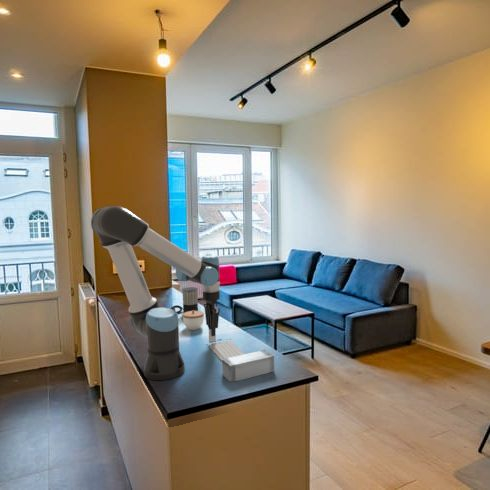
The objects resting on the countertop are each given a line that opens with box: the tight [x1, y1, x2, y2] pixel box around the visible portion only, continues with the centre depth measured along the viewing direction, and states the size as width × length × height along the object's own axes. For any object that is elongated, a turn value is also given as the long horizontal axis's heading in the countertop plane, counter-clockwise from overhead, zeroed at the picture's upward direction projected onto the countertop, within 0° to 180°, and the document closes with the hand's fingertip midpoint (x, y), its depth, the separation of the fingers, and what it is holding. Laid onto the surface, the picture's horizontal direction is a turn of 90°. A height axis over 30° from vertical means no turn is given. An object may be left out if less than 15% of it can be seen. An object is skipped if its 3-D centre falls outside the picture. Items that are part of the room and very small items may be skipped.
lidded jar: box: [182, 310, 205, 331], centre depth 198 cm, size 11×11×9 cm
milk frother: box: [169, 286, 199, 314], centre depth 226 cm, size 14×16×15 cm
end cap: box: [221, 349, 275, 383], centre depth 143 cm, size 18×7×6 cm, turn 117°
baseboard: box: [205, 338, 245, 362], centre depth 159 cm, size 31×3×12 cm
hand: (212, 342), depth 173 cm, fingers closed
